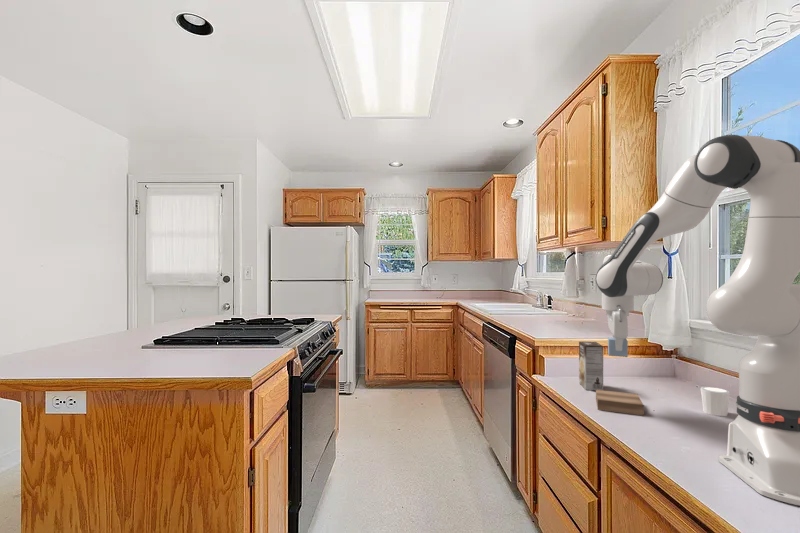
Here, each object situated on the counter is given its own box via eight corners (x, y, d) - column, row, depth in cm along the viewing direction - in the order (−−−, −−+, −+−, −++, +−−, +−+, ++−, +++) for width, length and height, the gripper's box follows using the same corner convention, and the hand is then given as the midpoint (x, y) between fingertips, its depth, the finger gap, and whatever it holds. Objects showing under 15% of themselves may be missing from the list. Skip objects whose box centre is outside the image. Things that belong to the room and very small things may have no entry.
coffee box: (578, 383, 150) (578, 341, 151) (596, 384, 149) (596, 341, 149) (585, 390, 141) (585, 345, 142) (604, 391, 140) (604, 345, 140)
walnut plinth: (643, 415, 115) (643, 405, 115) (597, 409, 120) (597, 399, 120) (637, 403, 126) (637, 394, 126) (595, 398, 131) (595, 389, 131)
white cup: (735, 417, 114) (735, 393, 114) (708, 415, 115) (708, 391, 115) (721, 410, 121) (721, 387, 121) (696, 408, 122) (695, 385, 122)
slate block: (627, 357, 120) (627, 340, 120) (609, 355, 122) (609, 339, 122) (625, 354, 125) (625, 338, 125) (607, 352, 127) (607, 337, 127)
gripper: (633, 307, 113) (633, 355, 113) (625, 303, 132) (625, 344, 131) (608, 306, 116) (608, 353, 115) (604, 302, 134) (604, 343, 134)
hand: (617, 348), depth 124 cm, fingers closed on slate block, 5 cm apart
